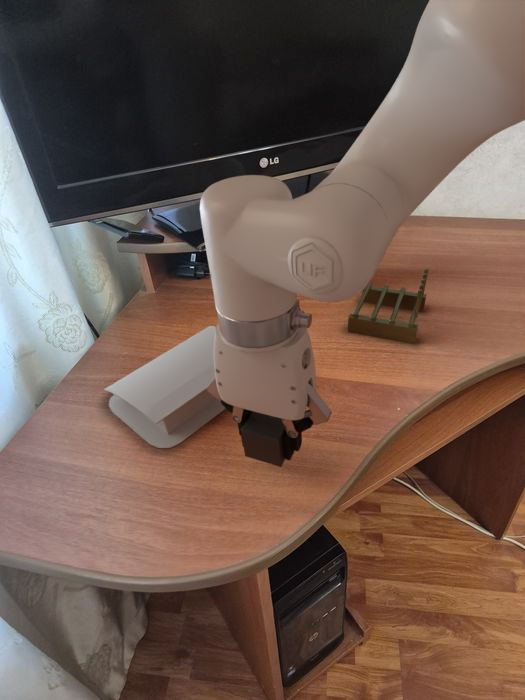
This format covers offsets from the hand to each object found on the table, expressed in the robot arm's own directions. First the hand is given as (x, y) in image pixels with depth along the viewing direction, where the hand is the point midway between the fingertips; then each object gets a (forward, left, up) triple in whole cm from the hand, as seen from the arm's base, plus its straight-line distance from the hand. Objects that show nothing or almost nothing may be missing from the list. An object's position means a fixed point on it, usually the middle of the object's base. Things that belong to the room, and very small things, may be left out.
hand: (270, 443), depth 52 cm
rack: (-7, -35, -3) cm, 36 cm away
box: (0, 0, 0) cm, 0 cm away
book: (+17, -9, -3) cm, 19 cm away
